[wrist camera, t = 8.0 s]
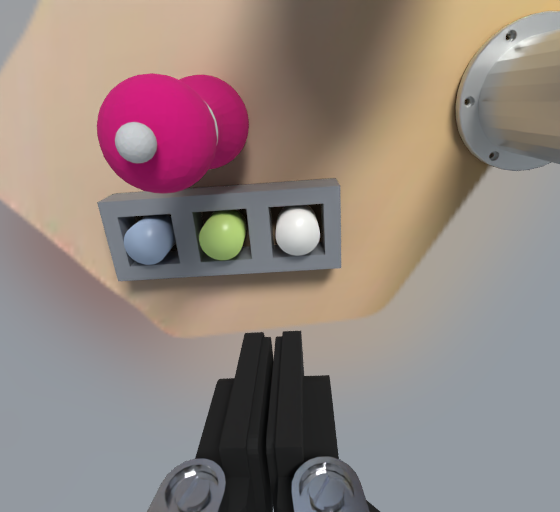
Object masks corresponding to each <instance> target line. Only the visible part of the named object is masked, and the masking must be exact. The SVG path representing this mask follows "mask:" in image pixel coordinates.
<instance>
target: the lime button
mask: <svg viewBox="0 0 560 512" xmlns="http://www.w3.org/2000/svg"><path fill="white" fill-rule="evenodd" d="M246 232H247V222H246V219H245V217H244V216H243V215H242V214H241V213H240V212H239V211H238V210H236V209H233V210H218V211H214V212H213V213H212V214H211V215H210V217H209V218H208V220H207V221H206V223H205V224H204V226H203V227H202V229H201V231H200V234H199V242H200V246H201V248H202V250H203V251H204V252H205V253H206V254H207V255H208V256H210V257H211V258H213V259H217V260H228V259H231V258H233V257H235V256H236V255H237V254H238V253H239V252H240V250H241V248H242V245H243V242H244V239H245V236H246Z"/></svg>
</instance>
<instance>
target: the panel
mask: <svg viewBox="0 0 560 512" xmlns="http://www.w3.org/2000/svg"><path fill="white" fill-rule="evenodd" d="M97 203H98V207H99V211H100V215H101V218H102V222H103V226H104V230H105V233H106V237H107V241H108V245H109V248H110V252H111V256H112V260H113V263H114V267H115V271H116V274H117V278H118V281H131V280H148V279H165V278H182V277H199V276H215V275H232V274H249V273H266V272H283V271H300V270H317V269H334V268H341V209H340V185H339V183H338V181H337V180H336V178H330V179H315V180H301V181H287V182H273V183H258V184H244V185H230V186H216V187H201V188H187V189H184V190H181V191H178V192H175V193H164V194H162V193H152V192H147V191H144V192H130V193H116V194H112V195H110V196H108V197H107V198H105V199H103V200H101V201H99V202H97ZM308 204H321V225H322V242H318V244H317V246H316V247H315V248H314V249H313V250H312V251H311V252H309V253H307V254H305V255H300V256H295V255H290V254H288V253H286V252H284V251H283V250H282V249H281V248H280V247H279V245H274V238H273V227H272V215H271V207H278V206H293V205H308ZM233 209H247V218H248V227H249V236H250V245H251V246H247V247H242V248H241V250H240V252H239V253H238V254H237V255H236V256H235V257H233V258H231V259H228V260H217V259H213V258H211V257H210V256H208V255H207V254H206V253H205V252H204V251H203V250H202V248H201V246H200V242H199V234H200V231H201V229H202V227H203V226H204V222H203V216H202V212H203V211H218V210H233ZM159 214H171V218H172V223H173V229H174V234H175V239H176V244H177V249H178V251H169V252H168V253H167V255H166V256H165V257H164V258H163V259H162V260H161V261H160V262H158V263H156V264H152V265H145V264H141V263H138V262H136V261H135V260H133V259H132V258H131V257H130V256H129V255H128V253H127V252H126V250H125V247H124V236H125V234H126V232H127V231H128V230H129V229H130V228H131V227H132V226H133V225H135V224H136V223H135V218H134V216H144V215H159Z"/></svg>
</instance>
